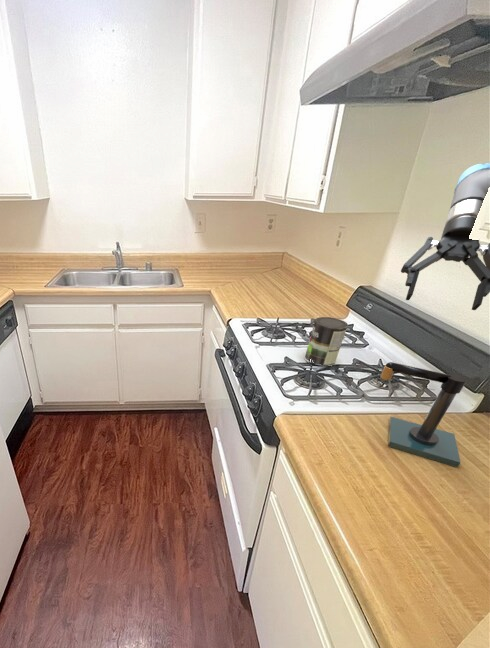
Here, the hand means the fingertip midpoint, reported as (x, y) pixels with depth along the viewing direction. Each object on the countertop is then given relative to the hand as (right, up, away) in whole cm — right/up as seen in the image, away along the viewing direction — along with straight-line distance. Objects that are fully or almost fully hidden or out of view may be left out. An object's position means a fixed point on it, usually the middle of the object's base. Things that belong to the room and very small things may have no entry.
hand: (441, 302), depth 83 cm
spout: (-8, -20, -3) cm, 22 cm away
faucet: (-3, -34, +2) cm, 34 cm away
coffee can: (-12, -10, +39) cm, 42 cm away
